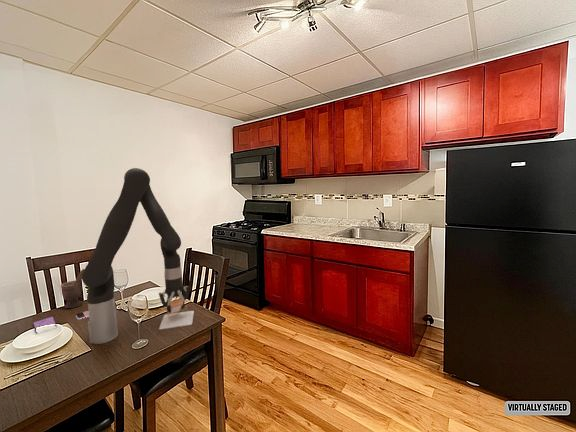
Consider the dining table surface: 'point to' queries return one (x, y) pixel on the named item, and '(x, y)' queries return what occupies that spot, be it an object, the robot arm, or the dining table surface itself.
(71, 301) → the mortar and pestle
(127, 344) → the dining table surface
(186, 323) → the mat
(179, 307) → the card box
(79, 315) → the mobile phone
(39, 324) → the sponges
